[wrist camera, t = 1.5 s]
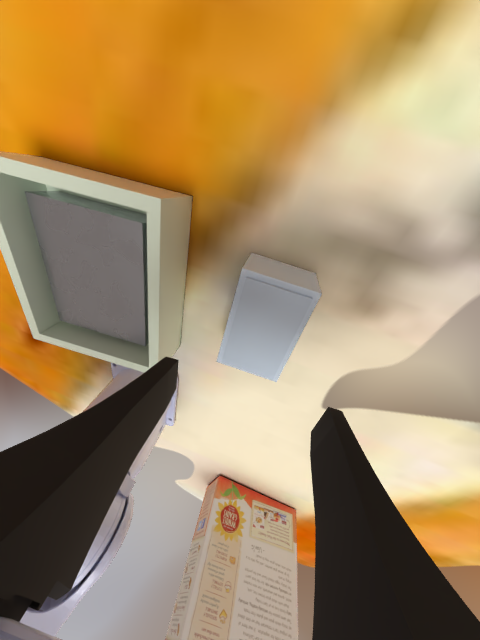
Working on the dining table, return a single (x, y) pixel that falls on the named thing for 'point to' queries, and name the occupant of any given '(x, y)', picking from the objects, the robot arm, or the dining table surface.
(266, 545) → the cracker box
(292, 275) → the pale grey box
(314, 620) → the robot arm
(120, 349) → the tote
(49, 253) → the tin block
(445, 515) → the dining table surface
